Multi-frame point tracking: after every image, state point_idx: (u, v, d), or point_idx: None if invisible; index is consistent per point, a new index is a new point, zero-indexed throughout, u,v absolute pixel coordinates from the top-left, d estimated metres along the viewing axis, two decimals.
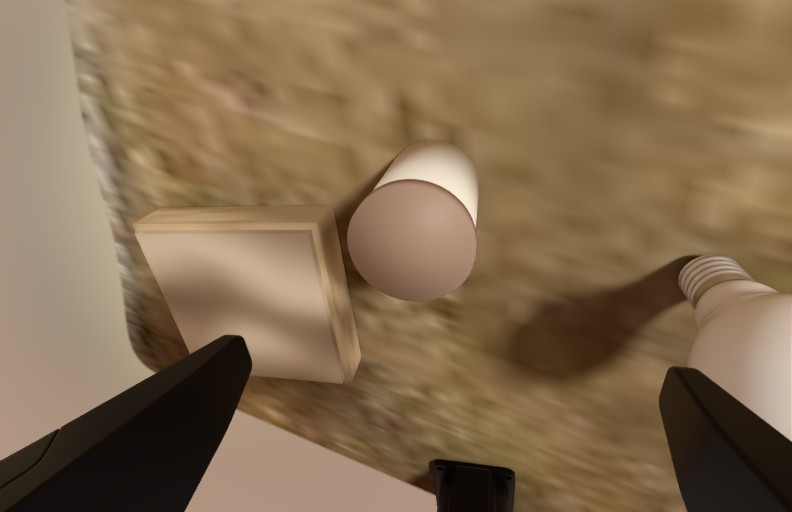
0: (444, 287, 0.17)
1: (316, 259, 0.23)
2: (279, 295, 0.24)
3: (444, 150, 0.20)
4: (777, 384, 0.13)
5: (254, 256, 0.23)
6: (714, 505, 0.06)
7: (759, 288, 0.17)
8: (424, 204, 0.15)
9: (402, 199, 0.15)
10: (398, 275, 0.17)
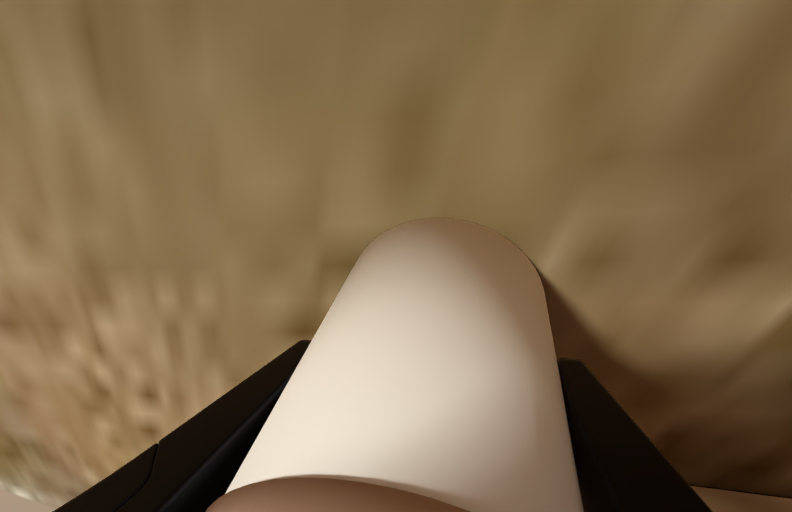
0: None
1: None
2: None
3: None
4: None
5: None
6: None
7: None
8: None
9: None
10: None
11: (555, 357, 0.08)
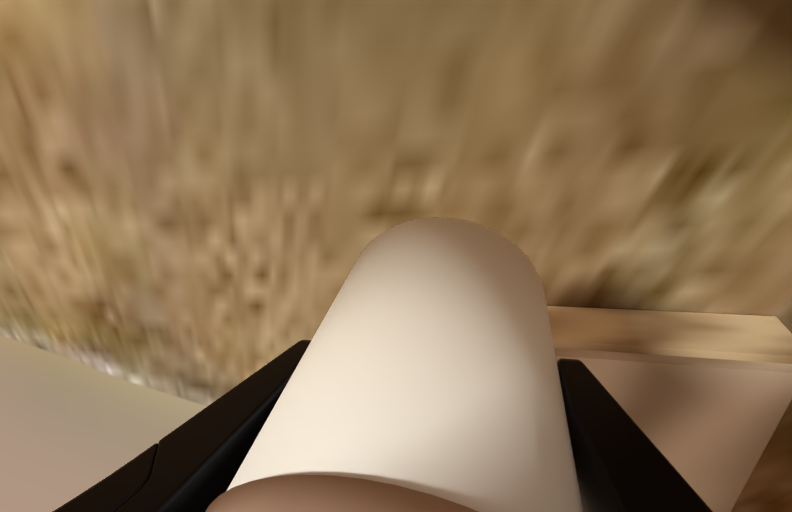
0: None
1: None
2: None
3: None
4: None
5: None
6: None
7: None
8: None
9: None
10: None
11: (554, 356, 0.08)
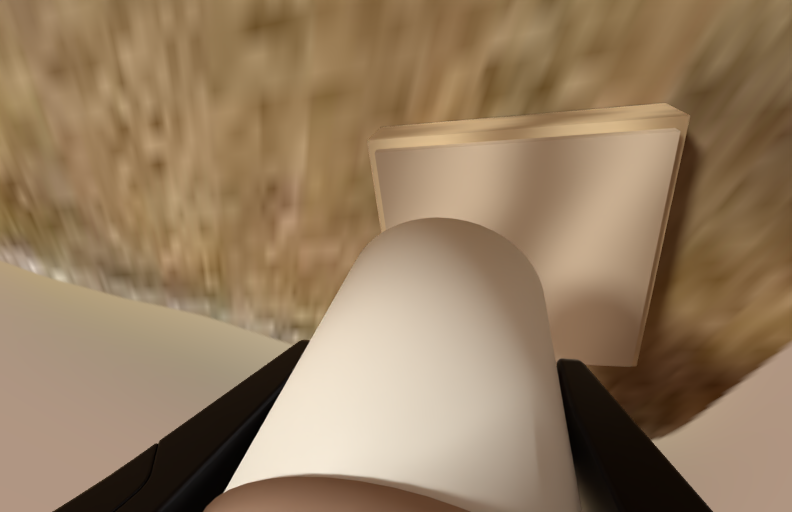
0: None
1: (417, 147, 0.17)
2: (477, 210, 0.17)
3: None
4: None
5: None
6: None
7: None
8: None
9: None
10: None
11: (554, 356, 0.08)
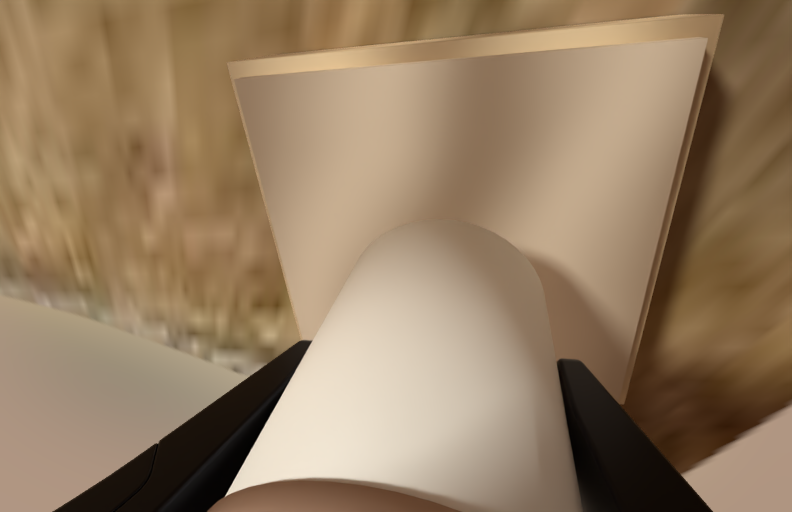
0: None
1: (297, 72, 0.11)
2: (392, 174, 0.11)
3: None
4: None
5: (310, 204, 0.12)
6: None
7: None
8: None
9: None
10: None
11: (555, 358, 0.08)
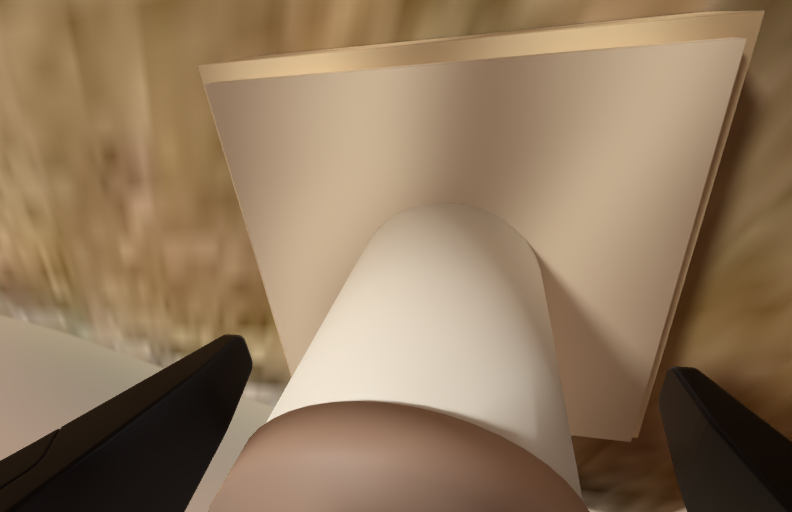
0: None
1: (275, 76, 0.10)
2: (383, 190, 0.10)
3: None
4: None
5: (292, 221, 0.11)
6: (714, 505, 0.06)
7: None
8: None
9: None
10: None
11: (550, 325, 0.08)
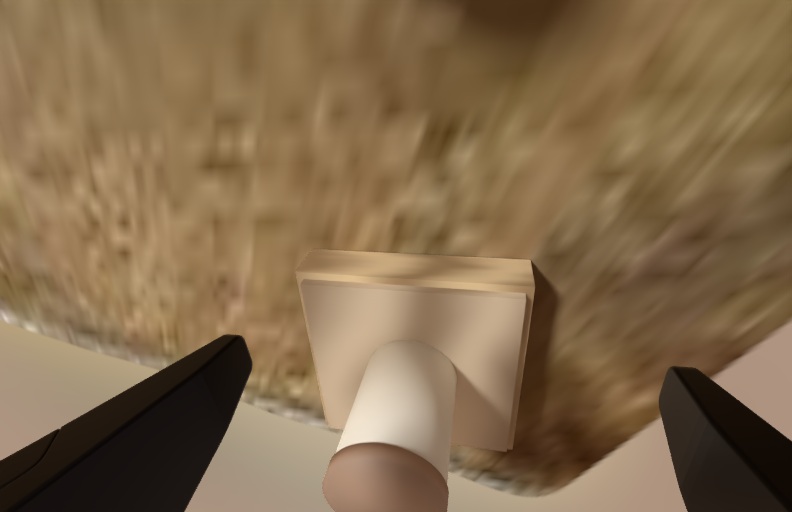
0: (426, 490, 0.16)
1: (334, 283, 0.21)
2: (381, 332, 0.22)
3: None
4: None
5: (335, 340, 0.23)
6: (714, 505, 0.06)
7: None
8: (337, 484, 0.17)
9: (334, 495, 0.17)
10: None
11: (451, 404, 0.20)
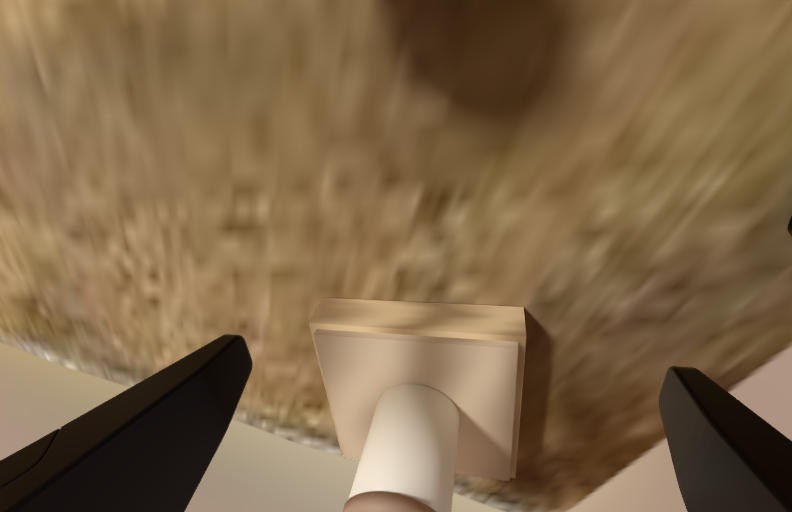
0: None
1: (343, 333, 0.23)
2: (388, 376, 0.24)
3: (372, 420, 0.23)
4: None
5: (347, 382, 0.25)
6: (714, 505, 0.06)
7: None
8: None
9: None
10: None
11: (453, 445, 0.22)
